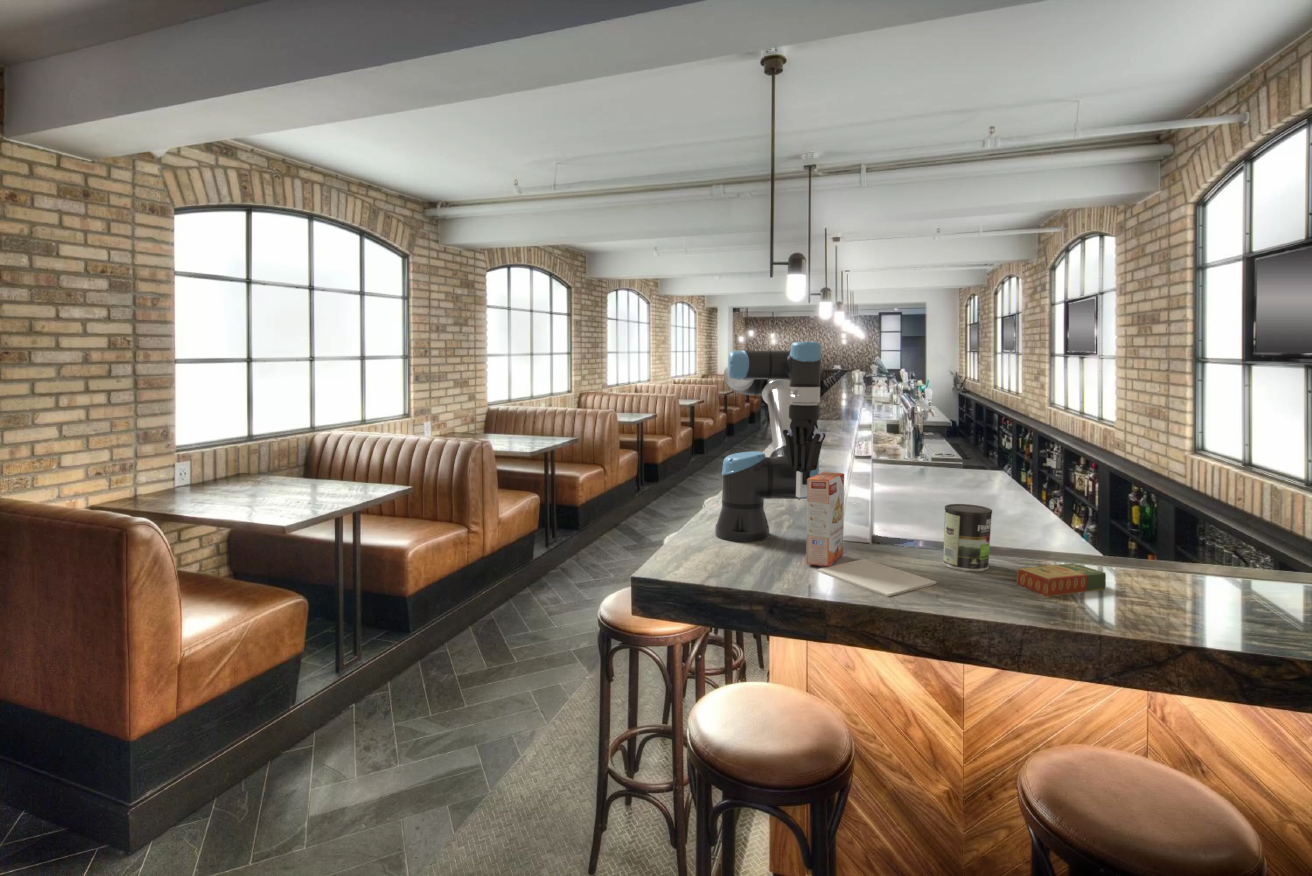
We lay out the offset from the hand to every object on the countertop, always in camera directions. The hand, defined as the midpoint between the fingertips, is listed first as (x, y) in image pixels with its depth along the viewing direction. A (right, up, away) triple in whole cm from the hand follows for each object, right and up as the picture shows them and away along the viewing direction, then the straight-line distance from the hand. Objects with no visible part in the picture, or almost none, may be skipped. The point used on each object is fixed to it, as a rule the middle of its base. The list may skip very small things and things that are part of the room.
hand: (801, 496), depth 170 cm
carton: (+51, -18, -25) cm, 59 cm away
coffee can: (+37, -16, -9) cm, 42 cm away
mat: (+13, -17, -19) cm, 28 cm away
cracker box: (+5, -15, -6) cm, 17 cm away
